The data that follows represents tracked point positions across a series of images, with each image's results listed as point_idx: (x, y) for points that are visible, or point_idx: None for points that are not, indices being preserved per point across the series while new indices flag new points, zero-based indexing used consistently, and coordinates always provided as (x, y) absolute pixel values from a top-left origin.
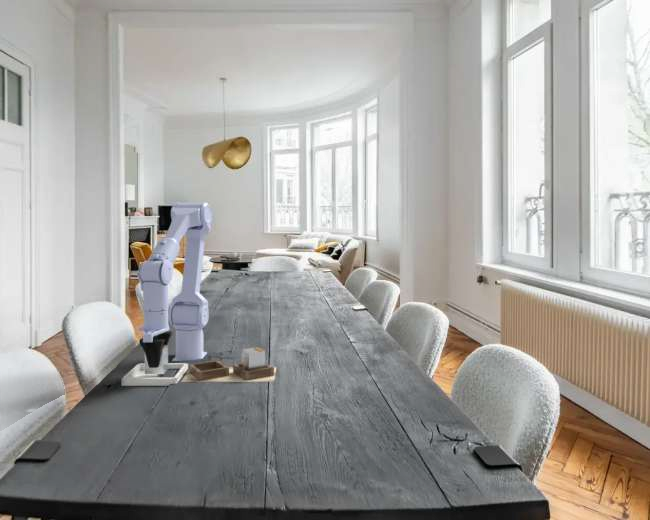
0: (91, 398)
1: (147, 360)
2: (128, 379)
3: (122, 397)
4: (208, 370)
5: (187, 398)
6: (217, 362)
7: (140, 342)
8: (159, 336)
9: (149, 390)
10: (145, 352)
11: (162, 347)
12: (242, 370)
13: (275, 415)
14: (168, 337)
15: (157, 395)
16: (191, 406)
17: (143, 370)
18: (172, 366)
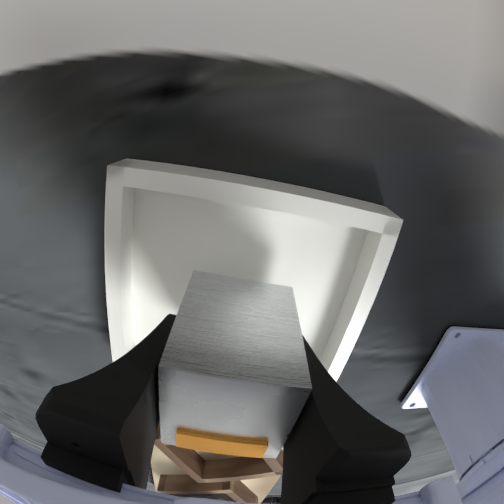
0: (33, 77)
1: (150, 333)
2: (105, 202)
3: (32, 191)
4: (171, 456)
5: (52, 370)
6: (260, 473)
7: (44, 400)
8: (302, 483)
9: (96, 278)
10: (114, 364)
11: (194, 447)
12: (172, 491)
13: (31, 445)
14: (282, 500)
15: (56, 304)
16: (16, 368)
17: (362, 234)
18: (326, 363)
